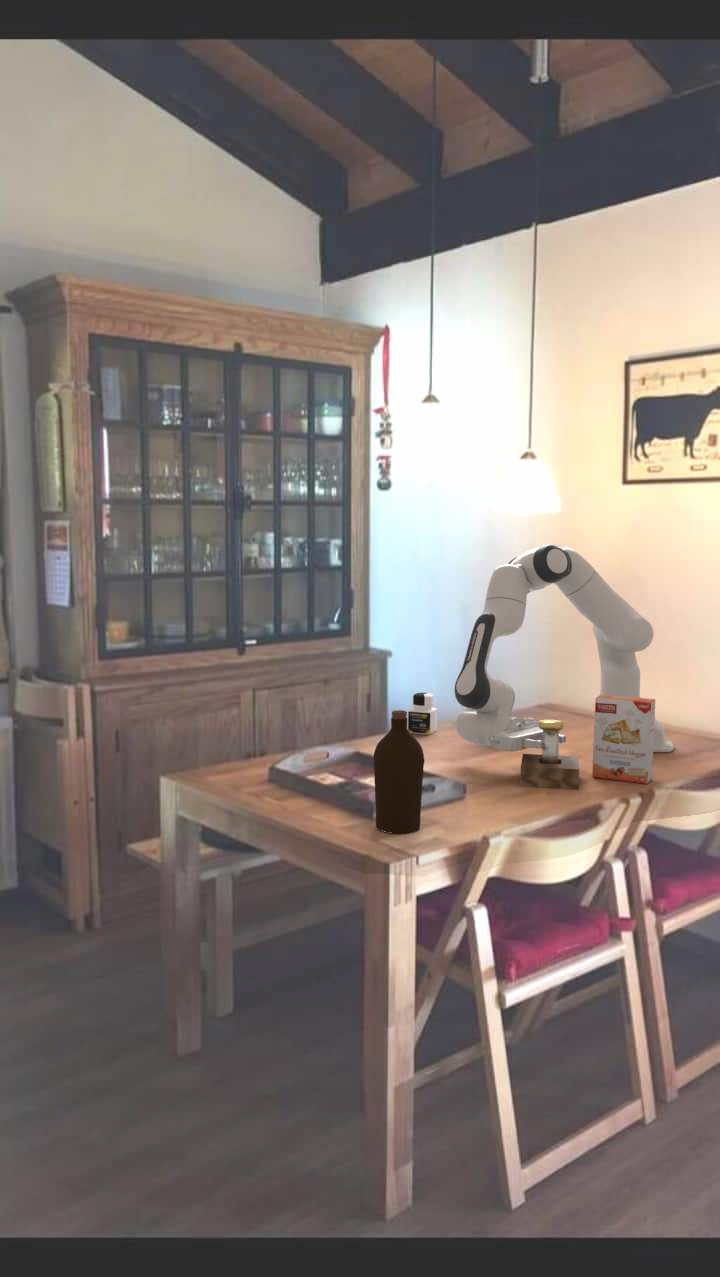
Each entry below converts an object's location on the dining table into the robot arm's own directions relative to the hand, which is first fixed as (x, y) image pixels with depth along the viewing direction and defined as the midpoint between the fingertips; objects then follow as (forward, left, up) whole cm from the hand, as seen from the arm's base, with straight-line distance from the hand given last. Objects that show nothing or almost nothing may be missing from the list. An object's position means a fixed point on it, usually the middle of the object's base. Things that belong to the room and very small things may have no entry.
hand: (553, 742), depth 259 cm
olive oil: (+32, +46, -10) cm, 57 cm away
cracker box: (-17, -7, -10) cm, 21 cm away
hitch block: (+1, -1, -10) cm, 10 cm away
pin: (+1, -1, -10) cm, 10 cm away
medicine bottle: (+40, -53, -10) cm, 67 cm away
